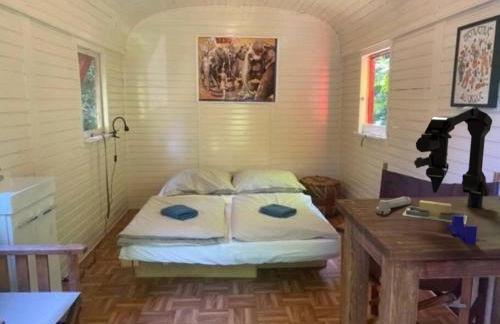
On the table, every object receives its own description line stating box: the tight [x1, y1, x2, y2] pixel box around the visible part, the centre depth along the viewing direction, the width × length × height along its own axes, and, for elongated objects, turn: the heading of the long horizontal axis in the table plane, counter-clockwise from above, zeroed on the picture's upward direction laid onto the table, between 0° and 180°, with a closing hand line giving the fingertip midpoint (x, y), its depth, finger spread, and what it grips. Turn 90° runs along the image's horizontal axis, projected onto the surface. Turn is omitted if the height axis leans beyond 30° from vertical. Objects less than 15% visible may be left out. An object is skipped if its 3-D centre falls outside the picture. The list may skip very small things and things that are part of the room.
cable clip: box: [446, 215, 478, 245], centre depth 127 cm, size 12×4×6 cm, turn 172°
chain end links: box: [405, 205, 465, 220], centre depth 148 cm, size 7×20×2 cm, turn 58°
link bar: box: [418, 199, 452, 217], centre depth 148 cm, size 3×11×5 cm, turn 58°
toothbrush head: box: [376, 196, 413, 215], centre depth 159 cm, size 5×7×25 cm
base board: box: [402, 207, 468, 225], centre depth 148 cm, size 12×22×1 cm, turn 58°
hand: (436, 190), depth 147 cm, fingers open, 9 cm apart
